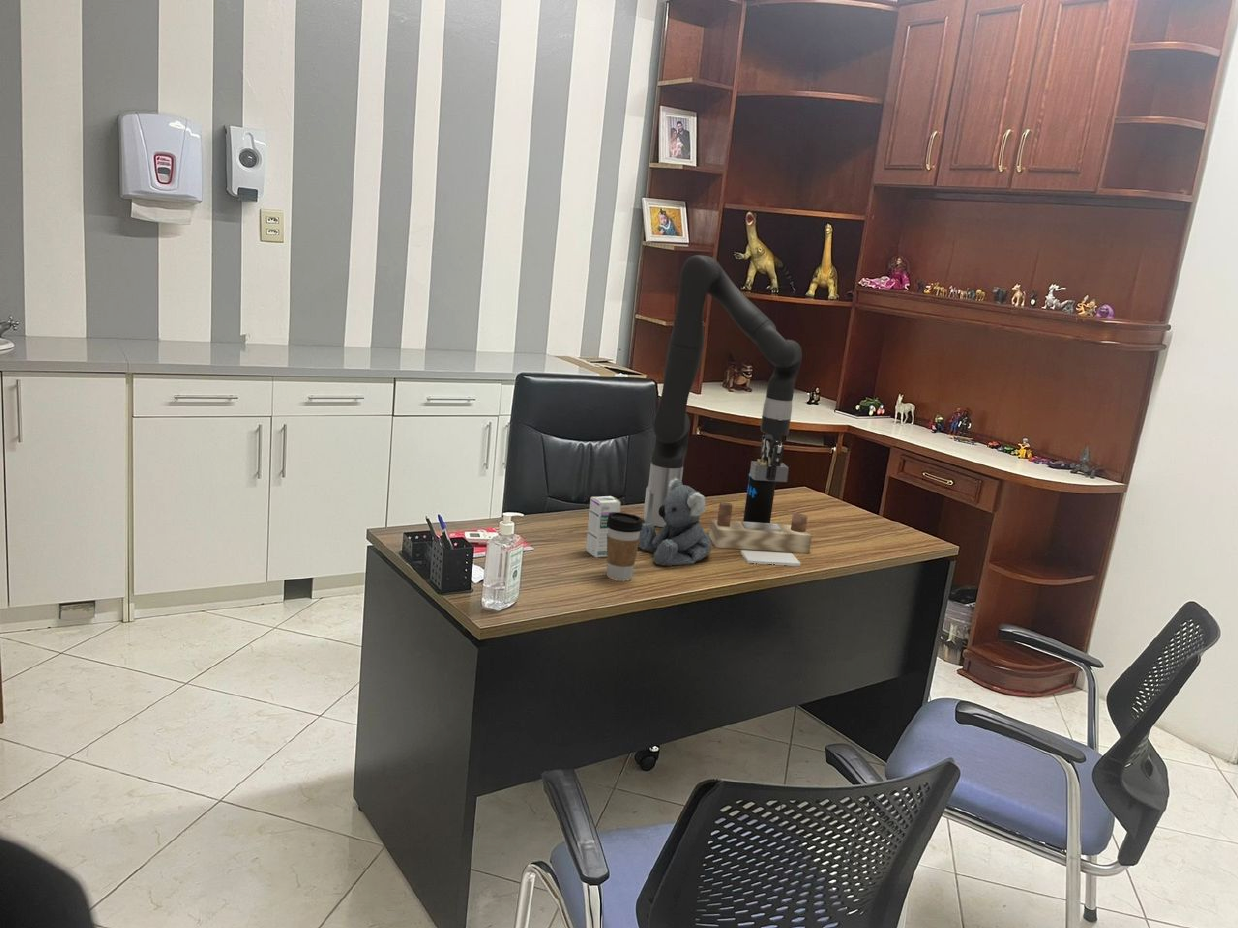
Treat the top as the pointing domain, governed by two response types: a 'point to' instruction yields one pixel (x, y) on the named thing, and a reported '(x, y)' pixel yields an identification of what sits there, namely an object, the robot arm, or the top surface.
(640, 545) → the koala plush
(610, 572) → the coffee cup
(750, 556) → the rubber mat
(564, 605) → the top surface
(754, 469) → the lever cap
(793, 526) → the hand plane
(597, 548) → the syrup box
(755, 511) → the aerosol can
